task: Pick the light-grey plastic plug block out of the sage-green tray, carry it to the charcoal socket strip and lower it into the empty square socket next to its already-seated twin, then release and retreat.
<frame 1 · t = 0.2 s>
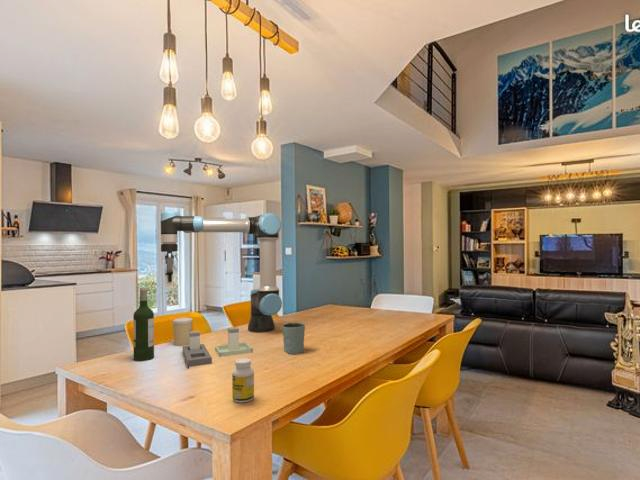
hand: (169, 287, 179), 28 cm above the table, fingers open, 13 cm apart
twin plug: (194, 355, 162), resting in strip
plug: (233, 351, 165), point 1 cm above the table, touching tray
grey-green cup: (294, 352, 164), on the table
pill bottle: (243, 399, 113), on the table
tray: (233, 352, 165), on the table
wine bottle: (143, 359, 158), on the table
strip: (196, 358, 156), on the table
coffee cup: (182, 344, 181), on the table
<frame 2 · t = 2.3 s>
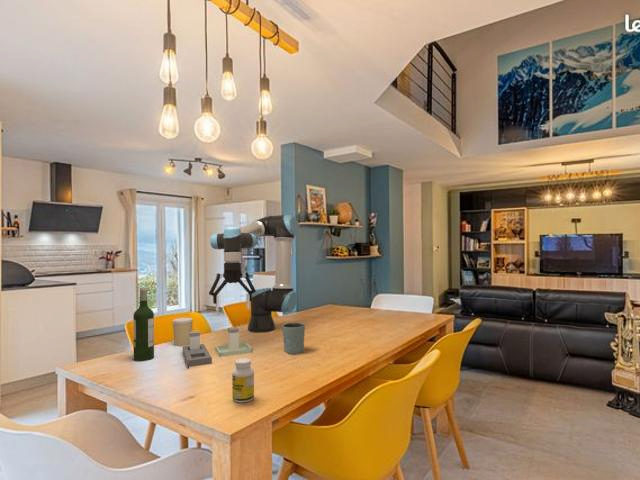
hand: (232, 310, 165), 19 cm above the table, fingers open, 13 cm apart
nothing on the table moved.
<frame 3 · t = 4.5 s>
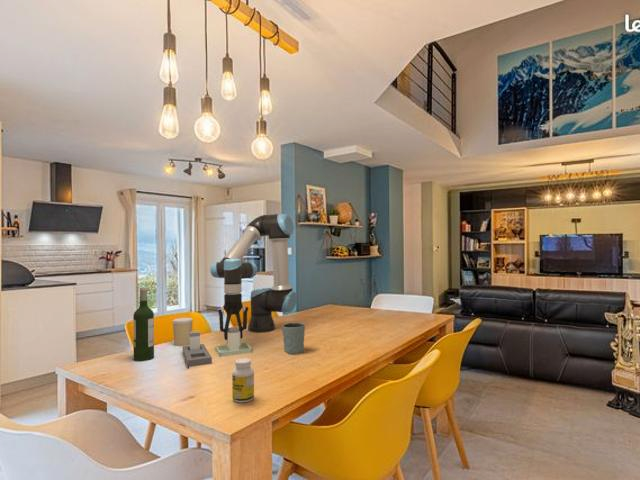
hand: (233, 346, 165), 3 cm above the table, fingers closed on plug, 4 cm apart
plug: (233, 351, 165), point 1 cm above the table, touching gripper
everything else where it was.
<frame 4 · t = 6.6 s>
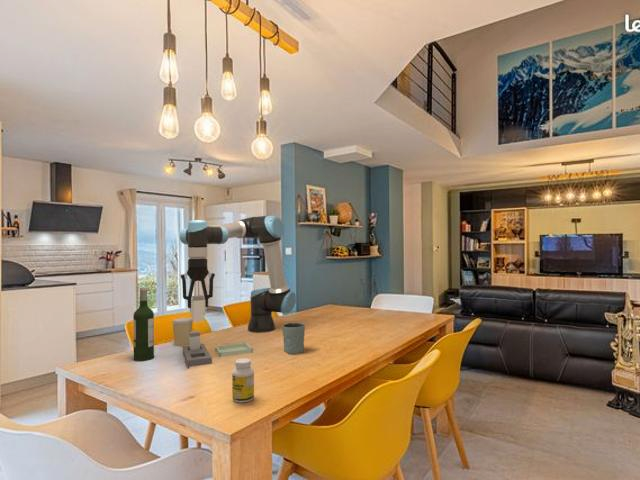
hand: (198, 315, 151), 19 cm above the table, fingers closed on plug, 4 cm apart
plug: (198, 320, 151), point 17 cm above the table, touching gripper
everything else where it was.
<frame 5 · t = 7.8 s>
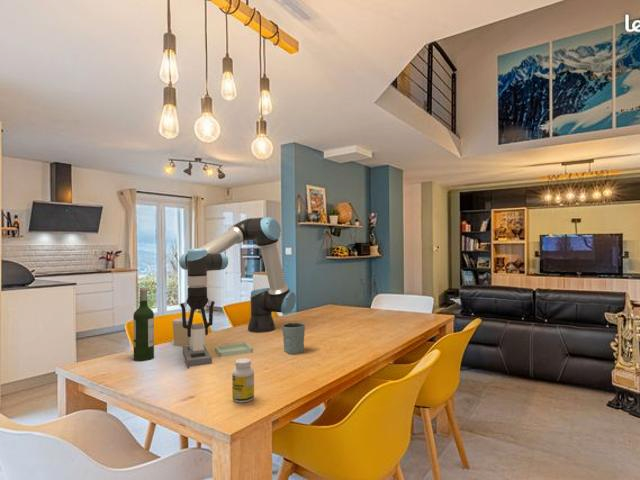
hand: (197, 344, 151), 7 cm above the table, fingers closed on plug, 4 cm apart
plug: (197, 349, 151), point 5 cm above the table, touching gripper
everything else where it was.
when the fingers open (4 cm above the table, at t = 8.7 s): plug drops 2 cm, resting in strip.
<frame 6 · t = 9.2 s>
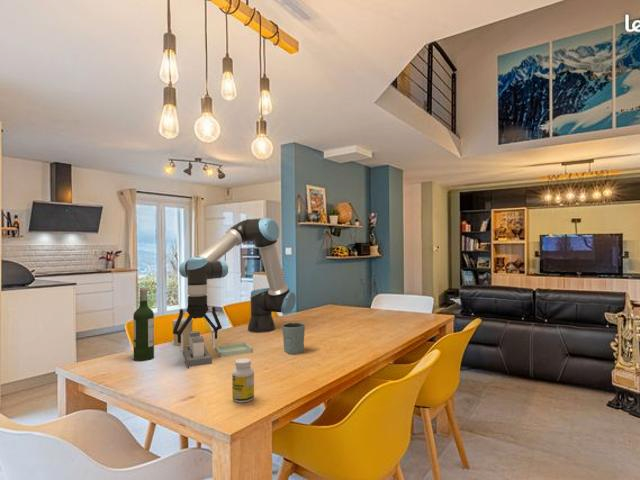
hand: (197, 349, 151), 5 cm above the table, fingers open, 11 cm apart
plug: (198, 362, 151), resting in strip
everything else where it was.
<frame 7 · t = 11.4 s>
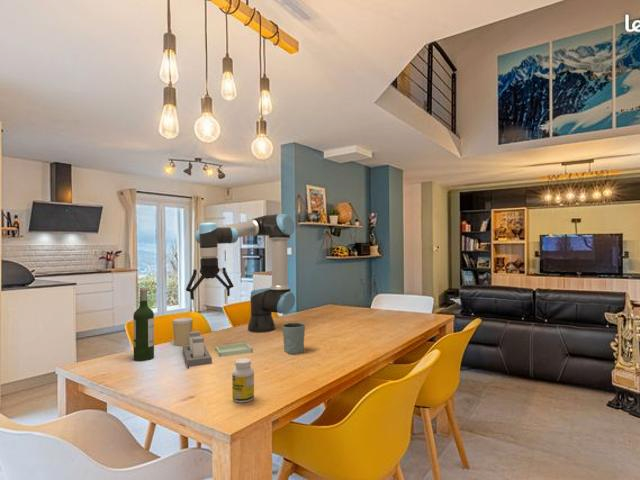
hand: (210, 305, 165), 21 cm above the table, fingers open, 13 cm apart
nothing on the table moved.
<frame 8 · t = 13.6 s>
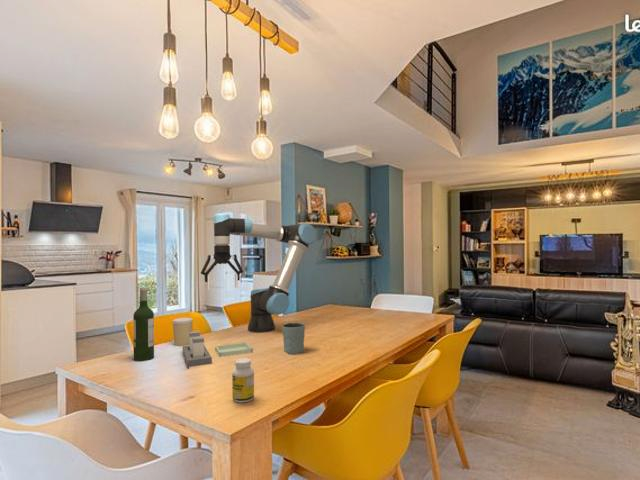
hand: (222, 288, 183), 27 cm above the table, fingers open, 13 cm apart
nothing on the table moved.
at the end: plug 0.1 cm from the target spot on the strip, point 0.0 cm above the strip's base; plug tilted 0°; the gripper is holding nothing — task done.
